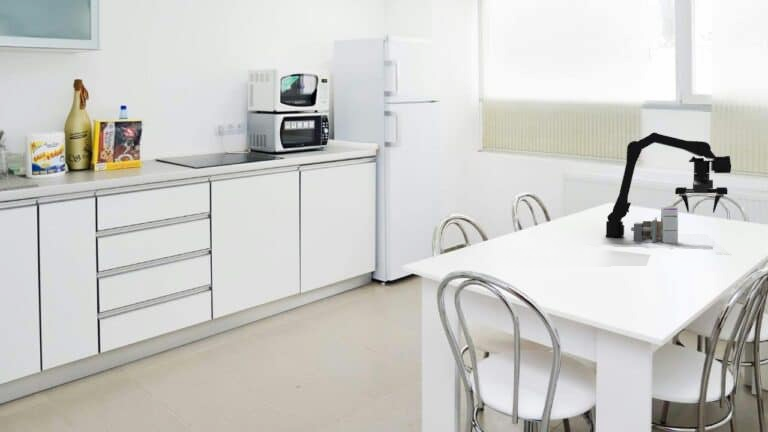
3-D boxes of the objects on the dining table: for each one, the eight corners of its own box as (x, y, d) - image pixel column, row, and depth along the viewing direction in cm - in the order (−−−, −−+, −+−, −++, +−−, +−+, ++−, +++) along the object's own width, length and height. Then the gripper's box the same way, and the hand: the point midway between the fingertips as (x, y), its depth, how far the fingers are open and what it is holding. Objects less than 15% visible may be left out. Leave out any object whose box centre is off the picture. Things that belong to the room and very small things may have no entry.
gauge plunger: (629, 240, 272) (630, 217, 272) (633, 238, 284) (633, 216, 283) (655, 241, 268) (655, 218, 268) (657, 239, 279) (657, 216, 279)
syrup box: (678, 243, 266) (678, 206, 266) (662, 242, 268) (662, 206, 267) (675, 241, 272) (676, 206, 271) (660, 241, 273) (660, 206, 273)
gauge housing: (633, 242, 272) (633, 222, 271) (636, 239, 282) (636, 220, 281) (661, 243, 267) (661, 222, 267) (663, 240, 277) (663, 221, 277)
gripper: (674, 173, 264) (674, 213, 265) (727, 173, 256) (726, 213, 256) (676, 173, 274) (675, 211, 275) (727, 173, 266) (727, 212, 266)
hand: (700, 212), depth 268 cm, fingers open, 9 cm apart
